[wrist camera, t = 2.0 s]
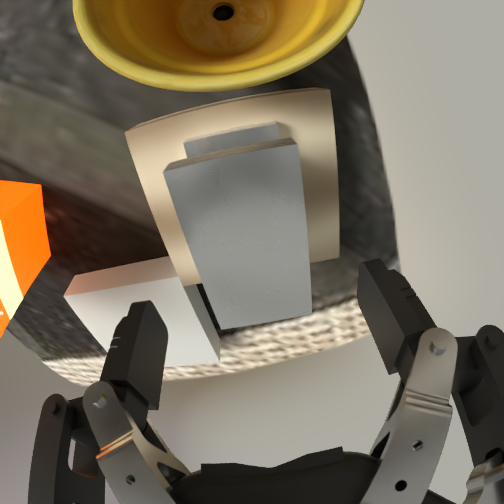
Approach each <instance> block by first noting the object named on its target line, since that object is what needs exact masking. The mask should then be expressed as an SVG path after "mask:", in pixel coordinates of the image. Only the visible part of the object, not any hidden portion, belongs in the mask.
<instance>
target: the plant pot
mask: <svg viewBox="0 0 504 504" xmlns="http://www.w3.org/2000/svg"><path fill="white" fill-rule="evenodd" d="M363 4H364V0H73V14H74V19H75V22H76V26H77V28H78V31H79V33H80V35H81V37H82V39H83V41H84V42H85V44H86V45H87V47H88V48H89V49H90V50H91V52H92V53H93V54H94V55H95V56H96V57H97V58H98V59H99V60H100V61H102V62H103V63H104V64H105V65H107V66H108V67H109V68H111V69H112V70H114V71H116V72H118V73H119V74H121V75H123V76H126V77H128V78H130V79H132V80H135V81H137V82H140V83H143V84H147V85H150V86H154V87H158V88H164V89H170V90H177V91H188V92H215V91H227V90H236V89H241V88H247V87H252V86H256V85H260V84H264V83H267V82H271V81H274V80H277V79H280V78H282V77H285V76H287V75H290V74H292V73H294V72H296V71H298V70H300V69H302V68H304V67H306V66H308V65H310V64H312V63H313V62H315V61H316V60H318V59H319V58H321V57H322V56H324V55H325V54H326V53H328V52H329V51H330V50H331V49H333V48H334V47H335V46H336V45H337V44H338V43H339V42H340V41H341V40H342V39H343V38H344V37H345V36H346V35H347V33H348V32H349V31H350V29H351V28H352V26H353V25H354V23H355V21H356V19H357V18H358V16H359V14H360V12H361V9H362V7H363ZM221 5H227V6H230V7H231V8H232V9H233V16H232V17H231V18H230V19H228V20H222V21H220V20H217V19H215V18H214V16H213V13H214V10H215V9H216V8H217V7H219V6H221Z"/></svg>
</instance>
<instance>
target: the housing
mask: <svg viewBox="0 0 504 504" xmlns="http://www.w3.org/2000/svg"><path fill="white" fill-rule="evenodd" d="M183 145H184V148H185V152H186V156H187V158H185V159H182V160H178V161H174V162H170V163H169V164H168V165H167V167H166V168H165V170H164V171H163V175H164V178H165V181H166V184H167V187H168V190H169V193H170V196H171V199H172V202H173V205H174V208H175V211H176V214H177V217H178V219H179V222H180V225H181V228H182V231H183V234H184V236H185V239H186V242H187V245H188V247H189V250H190V253H191V255H192V258H193V261H194V263H195V266H196V268H197V271H198V274H199V276H200V279H201V281H202V284H203V286H204V289H205V291H206V294H207V296H208V299H209V301H210V304H211V306H212V309H213V311H214V314H215V316H216V318H217V321H218V323H219V325H220V328H221V330H222V329H229V328H236V327H242V326H248V325H254V324H260V323H266V322H271V321H277V320H282V319H288V318H293V317H298V316H303V315H308V314H312V301H311V280H310V264H309V249H308V236H307V224H306V212H305V202H304V192H303V182H302V174H301V165H300V157H299V149H298V144H297V143H296V142H295V141H294V140H293V139H292V138H291V137H290V138H284V139H280V138H279V131H278V125H277V123H276V122H275V121H268V122H262V123H256V124H250V125H245V126H240V127H235V128H230V129H225V130H220V131H216V132H212V133H207V134H203V135H199V136H195V137H191V138H187V139H186V140H185V141H184V143H183Z"/></svg>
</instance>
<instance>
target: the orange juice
mask: <svg viewBox="0 0 504 504" xmlns="http://www.w3.org/2000/svg"><path fill="white" fill-rule="evenodd" d="M50 256H51V253H50V248H49V243H48V237H47V231H46V224H45V217H44V209H43V199H42V188H41V185H38V184H30V183H21V182H11V181H1V180H0V338H1V336H2V334H3V332H4V330H5V328H6V326H7V324H8V323H9V321H10V320H11V318H12V317H13V315H14V313H15V311H16V309H17V308H18V306H19V304H20V303H21V301H22V299H23V297H24V295H25V293H26V292H27V290H28V288H29V287H30V285H31V284H32V282H33V281H34V279H35V278H36V276H37V275H38V273H39V272H40V270H41V269H42V267H43V266H44V265H45V263H46V262H47V260H48V259H49V258H50Z"/></svg>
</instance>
